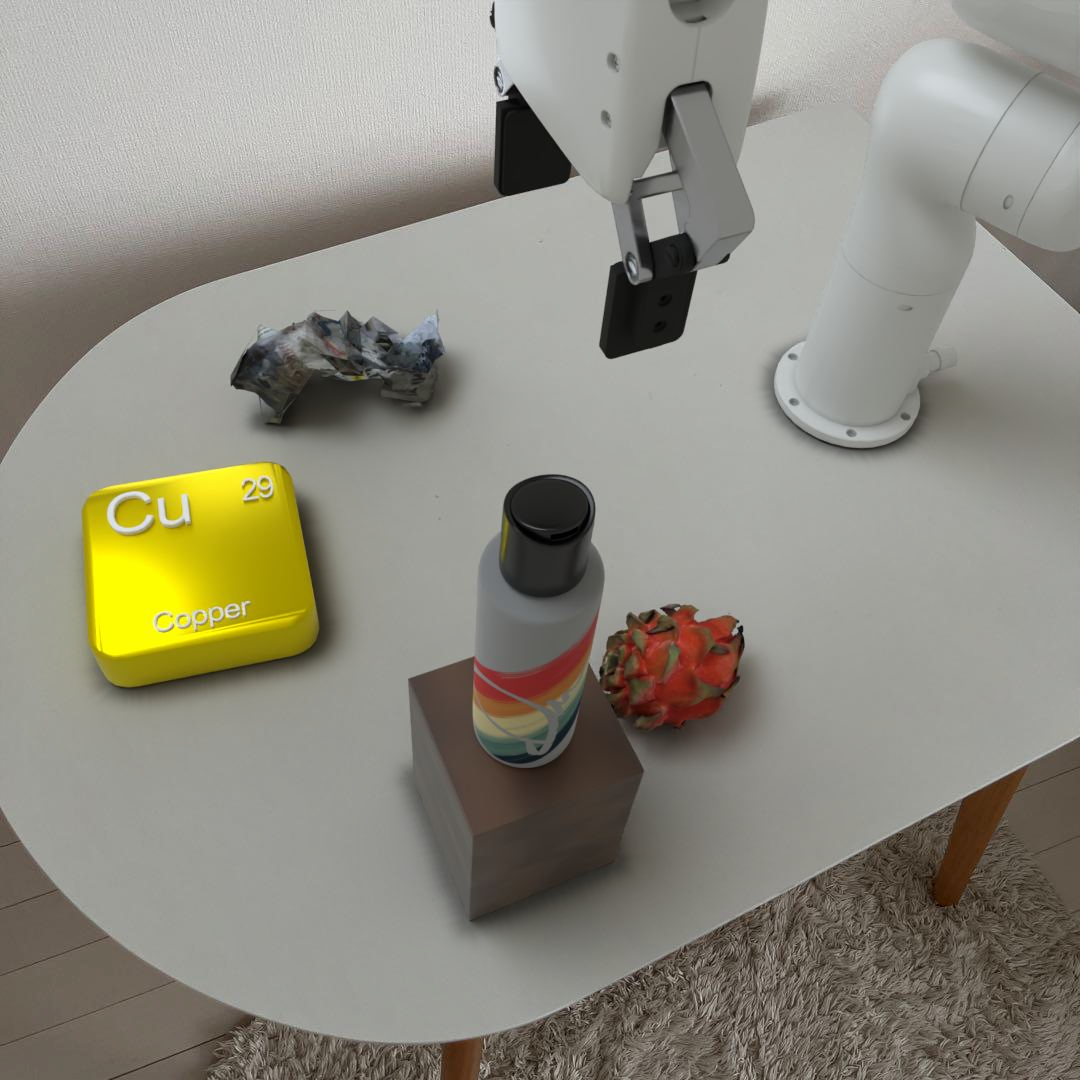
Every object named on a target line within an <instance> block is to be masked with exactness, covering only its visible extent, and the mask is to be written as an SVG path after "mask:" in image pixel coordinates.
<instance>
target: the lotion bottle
mask: <svg viewBox="0 0 1080 1080" xmlns="http://www.w3.org/2000/svg"><path fill="white" fill-rule="evenodd" d="M501 513H502V515H501V527H500V531H499V532H498V533H496V534H495V535H494V536H493V537H492V538H491V539H490V540H489V541H488V542H487V544H486V545H485V547H484V549H483V551H482V554H481V556H480V559H479V562H478V568H477V581H476V584H477V585H476V606H475V631H474V632H475V633H474V634H475V635H474V683H473V725H474V730H475V734H476V736H477V739H478V741H479V742H480V744H481V746H482V747H483V748H484V750H485V751H486V752H487V753H488V754H489V755H490V756H492V757H493V758H494V759H496V760H497V761H499V762H501V763H503V764H506V765H509V766H512V767H518V768H532V767H537V766H541V765H544V764H546V763H549V762H550V761H552V760H554V759H555V758H556V757H558V756H559V755H560V754H561V753H562V752H563V751H564V750H565V748H566V747H567V746H568V744H569V742H570V740H571V738H572V736H573V733H574V730H575V726H576V722H577V717H578V713H579V708H580V703H581V698H582V693H583V688H584V683H585V678H586V674H587V669H588V664H590V659H591V653H592V648H593V643H594V639H595V634H596V628H597V624H598V620H599V615H600V609H601V604H602V600H603V594H604V588H605V581H606V580H605V579H606V574H605V572H606V571H605V565H604V562H603V561H604V560H603V559H602V556H601V554H600V552H599V550H598V549H597V547H596V546H595V544H594V543H593V542H592V540H593V539H592V538H593V532H594V526H595V519H596V502H595V498H594V495H593V493H592V492H591V490H590V489H589V487H588V486H587V485H585V484H584V483H583V482H582V481H580V480H579V479H577V478H575V477H572V476H569V475H565V474H559V473H547V474H539V475H534V476H531V477H528V478H525V479H523V480H521V481H519V482H517V483H516V484H514V485H513V486H512V487H511V488H509V489H508V491H507V493H506V494H505V496H504V499H503V504H502V512H501Z"/></svg>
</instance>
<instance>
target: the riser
mask: <svg viewBox="0 0 1080 1080" xmlns="http://www.w3.org/2000/svg"><path fill="white" fill-rule="evenodd" d="M474 656H475V655H474ZM474 656H470V657H468V658H465V659H461V660H459V661H456V662H453V663H449V664H447V665H444V666H440V667H438V668H436V669H432V670H429V671H427V672H423V673H421V674H418V675H415V676H412V677H409V678H408V679H407V684H408V685H407V686H408V701H409V715H410V718H409V719H410V734H411V735H410V736H411V750H412V751H411V752H412V767H413V782H414V785H415V786H416V790H417V792H418V795H419V797H420V801H421V802H422V804H423V808H424V810H425V812H426V816H427V817H428V820H429V823H430V825H431V827H432V830H433V834H434V835H435V838H436V841H437V843H438V846H439V848H440V851H441V853H442V856H443V859H444V862H445V864H446V866H447V869H448V871H449V874H450V876H451V879H452V882H453V885H454V887H455V889H456V892H457V895H458V897H459V899H460V902H461V905H462V908H463V909H464V910H463V911H464V912H465V915H466V918H467V920H468V921H469V922H471V921H473V920H475V919H477V918H480V917H483V916H485V915H488V914H490V913H492V912H495V911H497V910H500V909H502V908H504V907H507V906H510V905H512V904H514V903H517V902H519V901H521V900H524V899H526V898H530V897H531V896H533V895H536V894H538V893H541V892H544V891H546V890H548V889H551V888H554V887H555V886H558V885H560V884H563V883H565V882H567V881H570V880H572V879H575V878H577V877H580V876H582V875H584V874H587V873H589V872H592V871H595V870H596V869H599V868H602V867H605V866H607V865H609V864H611V863H614V861H615V859H616V855H617V853H618V849H619V847H620V844H621V841H622V838H623V835H624V832H625V829H626V826H627V823H628V820H629V818H630V815H631V813H632V808H633V805H634V802H635V800H636V797H637V794H638V791H639V788H640V784H641V783H642V779H643V777H644V773H645V769H644V767H643V765H642V763H641V761H640V759H639V756H638V755H637V753H636V751H635V749H634V747H633V745H632V743H631V741H630V739H629V738H628V736H627V733H626V731H625V730H624V728H623V726H622V723H621V722H620V720H619V718H617V716H616V714H615V712H614V710H613V709H612V707H611V705H610V703H609V701H608V699H607V697H606V695H605V693H606V692H605V691H604V690H603V689H602V687H601V685H600V683H599V679H598V678H597V676H596V674H595V672H594V670H593V668H592V666H591V664H590V663H589V664H588V669H587V674H586V678H585V683H584V688H583V693H582V698H581V703H580V708H579V713H578V717H577V722H576V726H575V730H574V733H573V736H572V738H571V740H570V742H569V744H568V746H567V747H566V748H565V750H564V751H563V752H562V753H561V754H560V755H559V756H558V757H556V758H555V759H554V760H552V761H550V762H549V763H546V764H544V765H541V766H537V767H532V768H518V767H512V766H509V765H506V764H503V763H501V762H499V761H497V760H496V759H494V758H493V757H492V756H490V755H489V754H488V753H487V752H486V751H485V750H484V748H483V747H482V746H481V744H480V742H479V741H478V739H477V736H476V734H475V730H474V725H473V683H474ZM604 692H605V693H604Z"/></svg>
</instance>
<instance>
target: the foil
mask: <svg viewBox="0 0 1080 1080" xmlns="http://www.w3.org/2000/svg"><path fill="white" fill-rule="evenodd" d="M330 311H335V309H332V310H331V309H330V310H329V309H327V310H320V312H330ZM439 323H440V316H439V310H438V309H436V310H435V314H431V315H428V316H427V317H423V319H422V322H421V324H420V325H418V326H417V327H415V328H413V329H412V331H411V333H410V334H407V336H405V337H404V339H402V338H400V337H399V338H398V336H399V332H398V331H396V330H395V329H394V328H392V327H390V326H389V325H387V324H386V323H385V322H382V321H381V320H380V319H378V318H377V317H375V316H374V315H373V316H372V317H370V318H369V319H368V320H367V321H366V322H363V321H361V320H360V319H359V318H357V317H355V316H353V315H352V314H351V312H350V311H349V310H348V309H347V310H346V311H345V312H344V313H343V315H342V316H341V317H340V318H339V320H336V319H333V318H329V317H325V316H323V315H321V314H319V313H318V312H317V311H313V312H311V313H309V315H307V317H306V319H303V320H301V321H300V322H296V323H295V322H292V323H291V325H289V326H286V327H284V328H283V329H280V330H277V329H274V328H271V327H267V326H262V324H259V326H258V327H257V329H256V331H255V332H257V340H256V341H255V342H254V343H253V344H252V345H251V346H250V347H249V348H248V346H249V345H250V342H251V341H252V339H250V340H249V342H248V344H247V346H246V347H245V348H244V350H243V352H242V353H241V355H240V357H239V359H238V361H237V363H236V364H235V366H234V368H233V370H232V372H231V374H230V377H229V379H230V387H234V388H235V390H241V391H246V392H249V393H254V394H256V395H257V397H258V400H259V405H260V412H261V414H263V409H262V408H263V407H262V401H263V402H264V404H265V405H267V406H268V407H269V408H271V409H272V410H274V412H275V415H273V416H272V417H270V418H269V419H268V420H266V421H265V422H262V423H263V425H265V424H271V423H272V424H278V425H281V423H282V420H283V417H284V414H285V412H286V411H287V410H288V408H289V407H290V406H291V404H292V403H293V402H294V400H295V399H296V398H297V396H295V397H294V398H293V399H292V400H291V402H289V404H287V400H288V399H289V396H290V394H295V395H299V394H300V393H301V391H302V390H303V388H304V387H305V386H306V384H307V383H308V381H309V379H310V378H311V377H312V375H313V374H314V373H315V371H316V370H318V371H321V372H323V373H326V374H321V377H325V378H328V377H329V378H330V379H331V376H335V377H336V378H334V379H336V380H337V378H338V379H339V381H343V380H344V381H347V382H354V381H362V380H372V379H381V380H382V381H383V383H382V385H381V392H380V394H381V397H383V398H389V399H396V400H402V401H409V402H414V403H423V402H427V401H429V400H430V399H431V398H432V397H433V391H434V390H435V386H436V383H437V382H438V378H439V367H438V365H437V363H436V360H438V359H439V358H441V357H442V356H443V355H445V354H446V353H447V352H446V349H445V345H444V344H443V340H442V338H441V335H440V332H439ZM261 326H262V327H261ZM254 336H255V334H253V336H252V337H254ZM379 344H387V345H388V346H391V347H390V348H389V349H388V351H387V350H386V349H384V348H383V347H382V346H381V345H379ZM342 373H355V374H358V375H344V374H342ZM261 400H262V401H261ZM286 404H287V406H286ZM261 418H262V420H263V416H261Z"/></svg>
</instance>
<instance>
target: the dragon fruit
mask: <svg viewBox="0 0 1080 1080" xmlns="http://www.w3.org/2000/svg"><path fill="white" fill-rule="evenodd" d="M676 608H677V609H676ZM659 609H660V610H661V611H662V612H664V613H665V614H662V613H660V612H659V611H657V609H650V610H648V611H641V612H640V613H639V614H638V616H637V615H636V614H635V613H633V612H631V611H629V612H627V614H626V616H625V618H626V619H625V624H626V626H627V629H625V630H624V629H620V630H617V631H615V632H614V633H613V634H612V635H608V637H607V639H606V645H605V650H606V651H605V653H604V654H603V657H602V663H601V666H600V667H599V670H598V673H599V677H600V678H599V679H598V681H599V683H600V685H601V687H602V689H603V691H604V693H605V695H606V697H607V699H608V701H609V703H610V705H611V707H612V709H613V710H614V712H615V714H616V716H617V718H618V719H622V720H623V719H629V718H632V717H633V716H634V715H636V716H638V718H637V719H635V720H634V721H633V722H632V724H633V726H634V729H636V730H639V731H645V732H649V731H651V730H653V729H655V728H656V727H659V726H662V725H663V723H665V724H669V725H672V728H673V729H674V730H678V731H682V730H683V729H684V728H685V727H686V723H687V720H703V719H705V718H709V717H711V716H713V715H714V714H716V713H717V712H718V711H720V709H721V708H722V707H723V706H724V704H725V701H726V700H727V699H728V697H729V695H730V694H731V693H732V691H733V689H734V688H735V687H736V686H737V685H738V684H739V682H740V680H741V675H738V672H739V665H740V661H741V659H742V656H743V654H744V651H745V648H746V646H745V645H746V643H745V636H744V634H743V633H744V626H743V624H741V625H739V626H737V624H739V623H740V620H739V619H737V618H736V617H734V616H733V615H731V613H730V612H728V614H725V615H721V616H718V617H711V618H708V619H706V620H701V621H697V620H696V619H695V615H696V614H697V613H698V612H699V611H700V609H699V608H697V607H696V606H694V605H692V604H682V605H681V604H680V603H668V604H667V605H664V606H661V607H659ZM734 629H737V633H736V634H733V631H734ZM609 692H610V693H609Z"/></svg>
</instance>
